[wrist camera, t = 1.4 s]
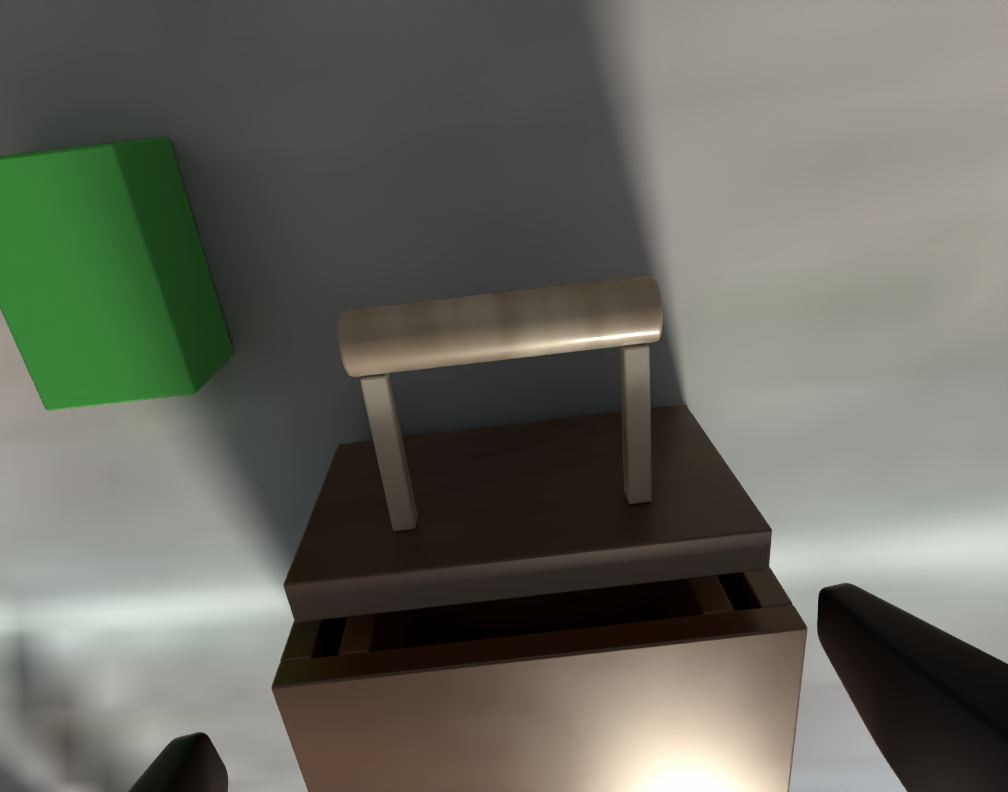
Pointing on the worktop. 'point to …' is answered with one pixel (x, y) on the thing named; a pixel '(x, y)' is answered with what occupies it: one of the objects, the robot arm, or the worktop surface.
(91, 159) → the green rectangular box
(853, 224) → the worktop surface
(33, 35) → the worktop surface
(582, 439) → the drawer
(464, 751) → the cabinet
